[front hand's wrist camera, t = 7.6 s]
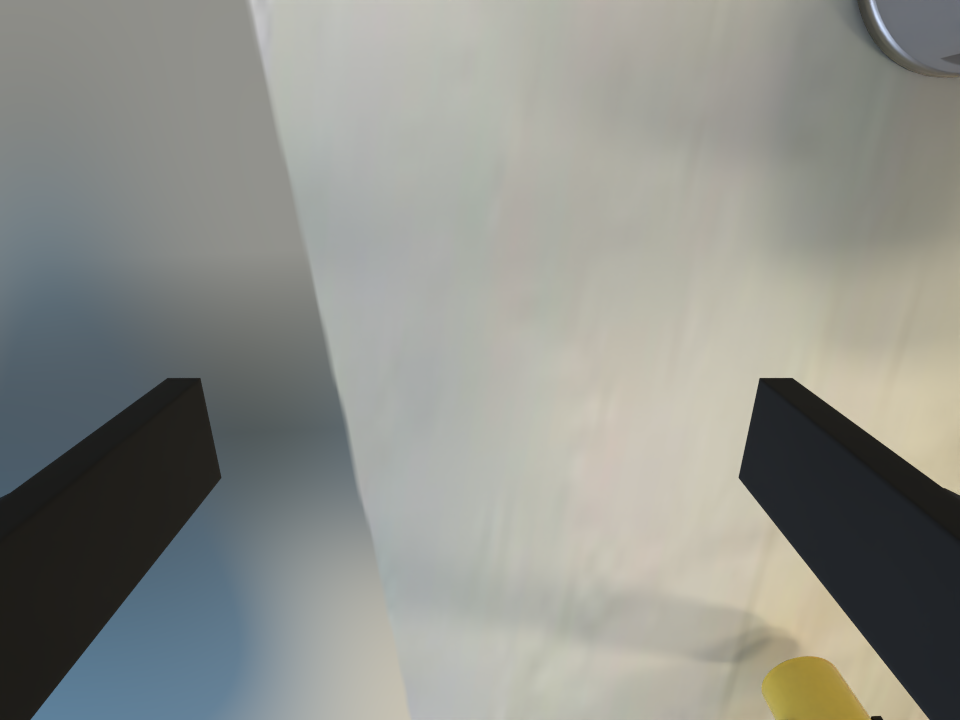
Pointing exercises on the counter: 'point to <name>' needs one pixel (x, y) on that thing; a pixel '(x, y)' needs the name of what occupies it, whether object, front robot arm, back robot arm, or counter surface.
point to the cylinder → (810, 692)
